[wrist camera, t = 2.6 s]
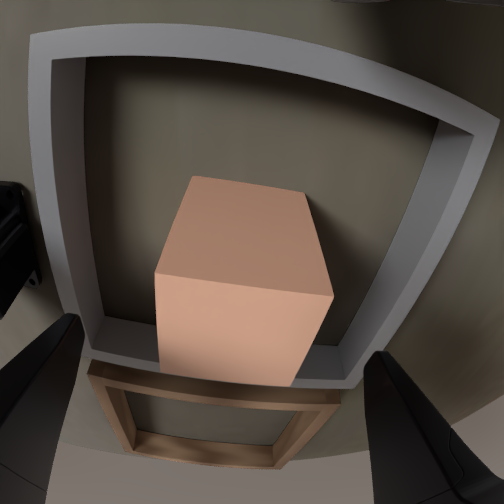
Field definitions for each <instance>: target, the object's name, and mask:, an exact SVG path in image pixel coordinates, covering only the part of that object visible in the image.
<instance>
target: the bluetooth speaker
mask: <svg viewBox="0 0 504 504" xmlns="http://www.w3.org/2000/svg"><path fill="white" fill-rule="evenodd" d="M332 1H335V2H345V3H371V2H382V1H388V0H332ZM447 1H453V2H459V3H467V4H480V5H492V6H503V7H504V0H447Z"/></svg>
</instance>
